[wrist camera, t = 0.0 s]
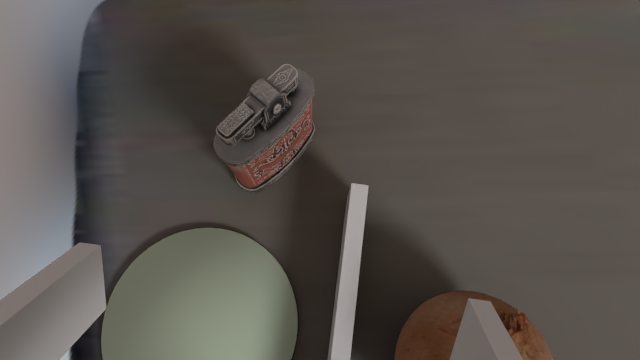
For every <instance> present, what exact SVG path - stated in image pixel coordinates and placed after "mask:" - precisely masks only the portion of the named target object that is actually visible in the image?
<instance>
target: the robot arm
mask: <svg viewBox="0 0 640 360" xmlns="http://www.w3.org/2000/svg"><path fill="white" fill-rule="evenodd" d="M105 310H106V299H105V288H104V276H103V265H102V254H101V245H94V244H87V243H78V244H77V245H76V246H74V247H73V248H71V249H70V250H69V251H67V252H66V253H65V254H63V255H62V256H61V257H59V258H58V259H56V260H55V261H54V262H52V263H51V264H49V265H48V266H47V267H45V268H44V269H43V270H41V271H40V272H39V273H37V274H36V275H34V276H33V277H32V278H30V279H29V280H27V281H26V282H25V283H23V284H22V285H21V286H20V287H18V288H16V289H15V290H14V291H12V292H11V293H10V294H8V295H7V296H5V297H4V298H3V299H2V300H0V360H59V359H60V358H61V357H62V356H63V355H64V354H65V353H66V352H67V351H68V349H69V348H70V347H71V346H72V345H73V344H74V343H75V342H76V341H77V340H78V339H79V338H80V337H81V335H82V334H83V333H84V332H85V331H86V330H87V329H88V328H89V327H90V326H91V325H92V324H93V322H94V321H95V320H96V319H97V318H98V317H99V316H100V315H101V314H102V313H103V312H104V311H105ZM450 360H523V358H522V357H521V355H520V353H519V351H518V350H517V348H516V346H515V344H514V342H513V341H512V339H511V337H510V335H509V333H508V332H507V330H506V328H505V326H504V325H503V323H502V321H501V319H500V317H499V316H498V314H497V312H496V310H495V309H494V307H493V305H492V303H491V301H485V300H478V299H471V298H468V301H467V304H466V308H465V311H464V314H463V318H462V321H461V324H460V327H459V331H458V334H457V337H456V341H455V344H454V347H453V350H452V354H451V357H450Z"/></svg>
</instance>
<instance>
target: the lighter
mask: <svg viewBox="0 0 640 360" xmlns="http://www.w3.org/2000/svg"><path fill="white" fill-rule="evenodd" d="M314 95H315V88H314V82H313V79H312V78H311V76H310V75H309V74H308V73H306V72H305V71H303V70H300V69H296V68H294V67H293V66H291V65H290V64H284V65H282V66H281V67H280V68H279V69H278V70H277V71H276V72H274V73H273V74H272V75H271V76H270V77H269V78H264V79H263V78H260V79H258V80H257V81H256V82H255V83H254V84H252V86H251V87H250V89H249V92H248V94H247V96H246V99H245V100H244V101H243V102H242V103H241V104H240V105H239V106H238V107H237V108H236V109H235V110H234V111H233V112H232V113H230V114H229V115H228V116H227V117H226V118H225V119H224V120H223V121H222V122H221V123H220V124H219V125H218V126H217V128H216V133H217V134H216V136H215V138H214V141H213V147H214V150H215V152H216V154H217V155H218V157H219V158H220V159H221V160H222V162H224V163H225V164H227V165H228V166H229V167H230V169H231V170H232V172H233V173H234V175H235V178H236V181H237V183H238V184H239V185H240V187H241V188H242V189H243V190H245V191H246V192H249V193H258V192H260V191H262V190H263V189H265V188H266V187H268V186H269V185H271V184H272V183H273V182H275V181H276V180H278V179H279V178H280V177H281V176H282V175H283V174H284V173H285V172H287V171H288V170H289V169H290V168H291V167H292V166H293V165H294V164H295V162H296V161H297V160H298V159H299V158H300V156H301V155H302V154H303V153H304V151H305V150H306V148H307V147H308V145H309V144H310V142H311V141H312V139H313V138H314V135H315V125H314V123H313V121H312V100H313V97H314Z"/></svg>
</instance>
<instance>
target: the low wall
mask: <svg viewBox="0 0 640 360" xmlns="http://www.w3.org/2000/svg"><path fill="white" fill-rule="evenodd" d="M367 195H368V185H361V184H354V183H351V186H350V189H349V192H348V195H347V201H346V209H345V218H344V226H343V234H342V242H341V251H340V259H339V267H338V276H337V284H336V292H335V300H334V309H333V317H332V325H331V334H330V342H329V350H328V359H327V360H350V357H351V347H352V338H353V328H354V319H355V309H356V300H357V290H358V281H359V271H360V262H361V252H362V243H363V233H364V224H365V214H366V204H367Z"/></svg>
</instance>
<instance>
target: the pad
mask: <svg viewBox="0 0 640 360" xmlns="http://www.w3.org/2000/svg"><path fill="white" fill-rule="evenodd" d="M297 328H298V316H297V306H296V300H295V296H294V293H293V290H292V286H291V284H290V282H289V280H288V277H287V275H286V273H285V272H284V270H283V269H282V267H281V265H280V264H279V263H278V262H277V260H276V259H275V258H274V257H273V256H272V255H271V254H270V253H269V252H268V251H267V250H266V249H265V248H264V247H263V246H261V245H260V244H258V243H257V242H255V241H254V240H252V239H250V238H248V237H246V236H244V235H242V234H239V233H237V232H234V231H230V230H225V229H220V228H196V229H191V230H186V231H182V232H179V233H176V234H173V235H171V236H169V237H166V238H164V239H162V240H160V241H159V242H157V243H155V244H154V245H152V246H151V247H149V248H148V249H147V250H146V251H144V252H143V253H142V254H141V255H139V256H138V257H137V258H136V259H135V260H134V261H133V262H132V263H131V265H130V266H129V267H128V268H127V270H126V271H125V272H124V273H123V275H122V276H121V278H120V280H119V281H118V283H117V284H116V286H115V288H114V290H113V292H112V294H111V296H110V299H109V302H108V305H107V308H106V310H105V315H104V319H103V324H102V335H101V348H102V357H103V360H291V359H292V356H293V353H294V349H295V344H296V339H297Z"/></svg>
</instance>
